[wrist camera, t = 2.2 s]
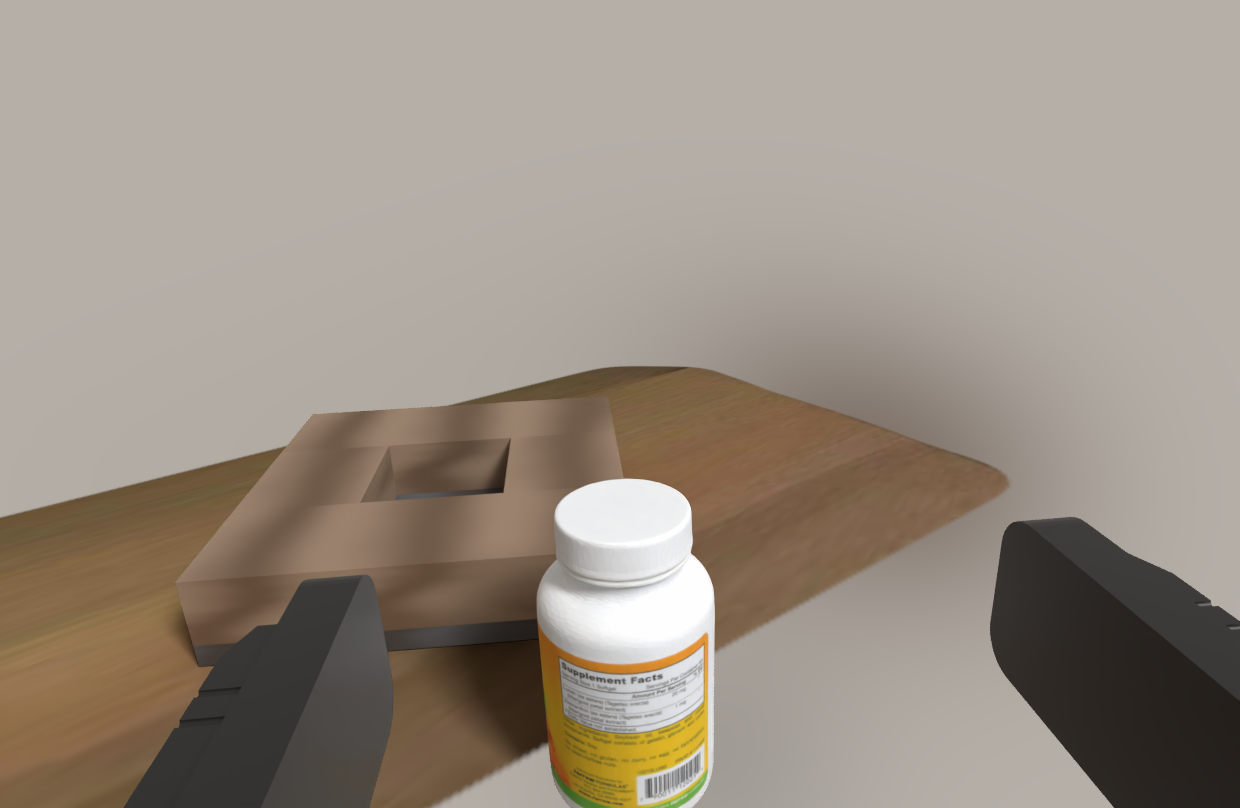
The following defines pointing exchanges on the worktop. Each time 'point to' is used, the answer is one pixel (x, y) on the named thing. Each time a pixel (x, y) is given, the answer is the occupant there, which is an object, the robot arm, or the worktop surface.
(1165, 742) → the robot arm
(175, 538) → the worktop surface
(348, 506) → the socket block
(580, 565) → the supplement bottle
